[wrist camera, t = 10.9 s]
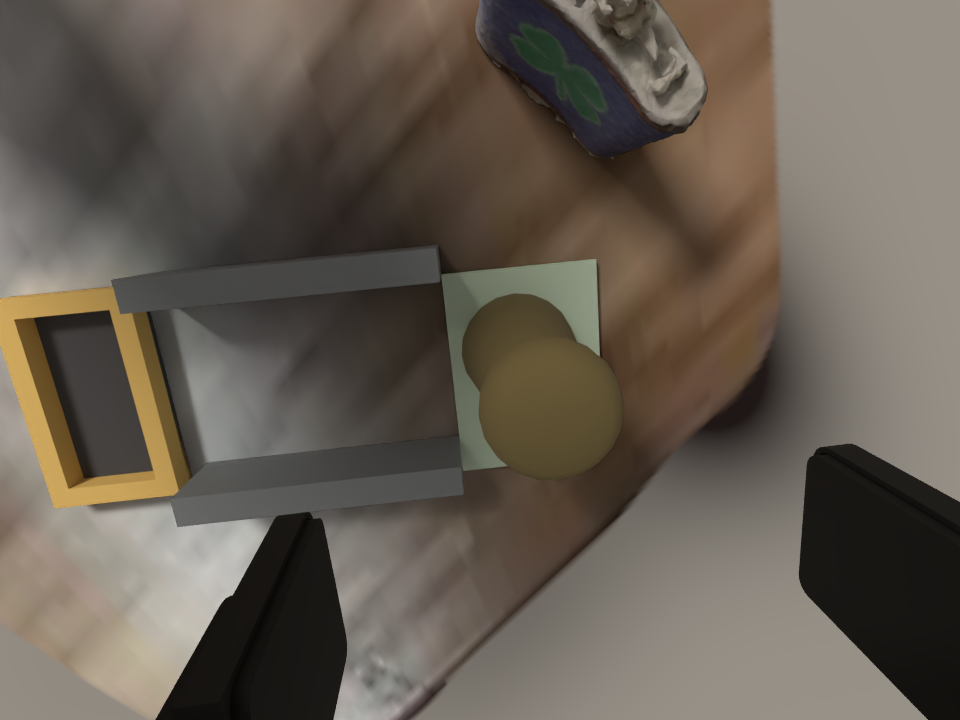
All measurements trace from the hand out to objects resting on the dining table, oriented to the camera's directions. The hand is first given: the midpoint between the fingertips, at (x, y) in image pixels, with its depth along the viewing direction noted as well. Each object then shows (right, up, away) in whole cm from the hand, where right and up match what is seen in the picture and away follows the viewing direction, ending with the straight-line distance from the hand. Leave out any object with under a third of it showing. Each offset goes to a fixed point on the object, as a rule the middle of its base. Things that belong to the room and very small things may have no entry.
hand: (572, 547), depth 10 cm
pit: (-21, +2, +18) cm, 28 cm away
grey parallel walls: (-10, +3, +18) cm, 21 cm away
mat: (+1, +3, +19) cm, 19 cm away
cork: (0, +4, +18) cm, 19 cm away
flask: (+2, +17, +16) cm, 23 cm away
